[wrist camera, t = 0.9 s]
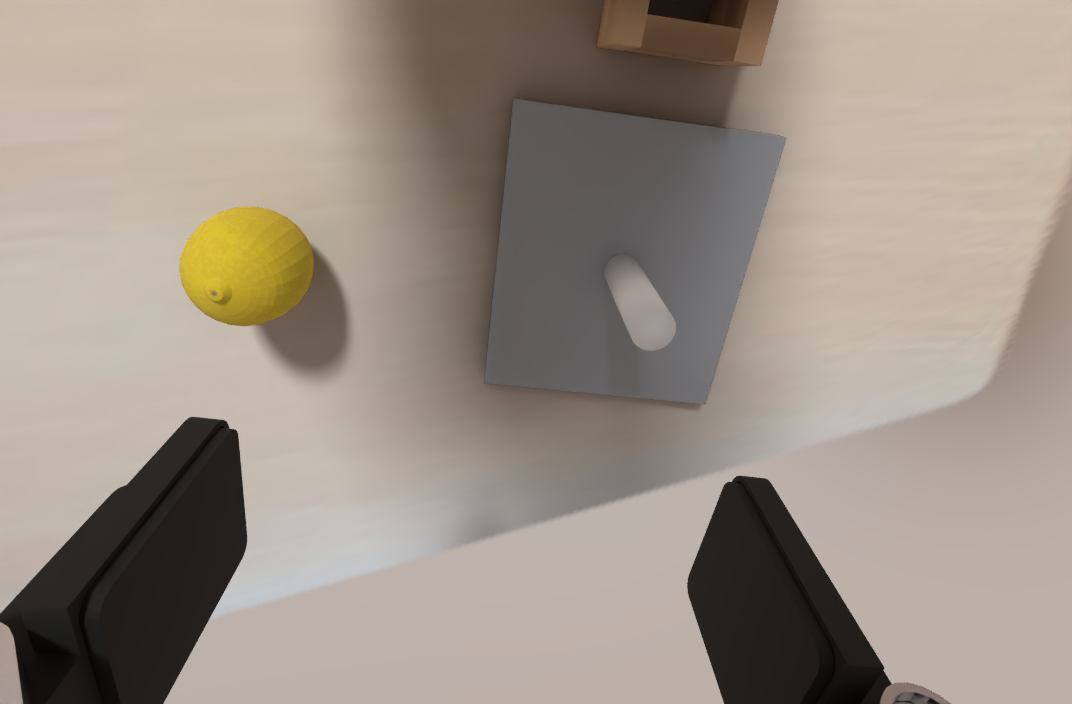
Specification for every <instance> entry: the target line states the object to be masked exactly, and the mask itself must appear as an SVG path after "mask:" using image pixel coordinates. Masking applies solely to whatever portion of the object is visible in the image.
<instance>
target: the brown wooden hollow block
mask: <svg viewBox="0 0 1072 704" xmlns="http://www.w3.org/2000/svg"><path fill="white" fill-rule="evenodd" d="M649 2H650V0H604V4H603V10H602V16H601V23H600V29H599V36H598V42H597V47H599V48H606V49H613V50H619V51H626V52H632V53H639V54H646V55H652V56H659V57H666V58H672V59H679V60H686V61H692V62H699V63H706V64H712V65H719V66H760V65H761V63H762V59H763V56H764V52H765V48H766V45H767V41H768V37H769V33H770V30H771V26H772V22H773V19H774V15H775V11H776V8H777V4H778V0H713V3H712V7H711V12H710V16H709V20H708V24H707V23H701V22H694V21H688V20H682V19H675V18H669V17H663V16H656V15H650V14H647V12H648V7H649Z"/></svg>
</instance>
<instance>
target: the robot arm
mask: <svg viewBox="0 0 1072 704" xmlns="http://www.w3.org/2000/svg"><path fill="white" fill-rule="evenodd" d="M246 545H247V530H246V519H245V507H244V496H243V485H242V473H241V462H240V451H239V439H238V433H237V431H236V430H234V429H229V426H228V424H227V422H226V421H224V420H218V419H208V418H199V417H190V418H188V419H187V420H186V421H185V422H184V423H183V424H182V425H181V426H180V427H179V428H178V429H177V431H176V432H175V433H174V434H173V435H172V436H171V437H170V438H169V439H168V440H167V442H166V443H165V444H164V445H163V446H162V447H161V448H160V449H159V450H158V451H157V453H156V454H155V455H154V456H153V457H152V458H151V459H150V460H149V461H148V462H147V463H146V465H145V466H144V467H143V468H142V469H141V470H140V471H139V472H138V473H137V474H136V476H135V477H134V478H133V479H132V480H131V481H130V482H129V483H128V484H127V485H126V486H123V487H120V488H118V489H117V490H116V491H115V492H113V493H112V494H111V495H110V496H109V497H108V498H107V499H106V500H105V502H104V503H103V504H102V505H101V506H100V507H99V508H98V509H97V510H96V511H95V512H94V513H93V514H92V516H91V517H90V518H89V519H88V520H87V521H86V522H85V523H84V524H83V525H82V526H81V527H80V528H79V530H78V531H77V532H76V533H75V534H74V535H73V536H72V537H71V538H70V539H69V540H68V541H67V542H66V544H65V545H64V546H63V547H62V548H61V549H60V550H59V551H58V552H57V553H56V554H55V555H54V556H53V558H52V559H51V560H50V561H49V562H48V563H47V564H46V565H45V566H44V567H43V568H42V569H41V570H40V572H39V573H38V574H37V575H36V576H35V577H34V578H33V579H32V580H31V581H30V582H29V583H28V584H27V586H26V587H25V588H24V589H23V590H22V591H21V592H20V593H19V594H18V595H17V596H16V597H15V598H14V600H13V601H12V602H11V603H10V604H9V605H8V606H7V607H6V608H5V609H4V610H3V611H2V612H1V614H0V704H163V703H164V701H165V699H166V698H167V696H168V694H169V692H170V690H171V688H172V686H173V685H174V683H175V681H176V679H177V677H178V675H179V674H180V672H181V670H182V668H183V666H184V664H185V663H186V661H187V659H188V657H189V655H190V653H191V651H192V650H193V648H194V646H195V644H196V642H197V641H198V638H199V637H200V635H201V633H202V631H203V630H204V628H205V626H206V624H207V622H208V620H209V619H210V617H211V615H212V613H213V611H214V609H215V607H216V606H217V604H218V602H219V600H220V598H221V596H222V595H223V593H224V591H225V589H226V587H227V585H228V584H229V582H230V580H231V578H232V576H233V574H234V573H235V571H236V569H237V567H238V565H239V563H240V562H241V560H242V558H243V555H244V553H245V549H246ZM687 584H688V586H687V587H688V594H689V598H690V601H691V604H692V607H693V610H694V613H695V616H696V619H697V622H698V626H699V629H700V631H701V635H702V638H703V641H704V644H705V647H706V650H707V653H708V656H709V659H710V662H711V665H712V668H713V671H714V674H715V677H716V680H717V683H718V686H719V689H720V692H721V695H722V698H723V701H724V704H951V703H949V702H948V701H947V700H945V699H944V698H943V697H941V696H940V695H938V694H936V693H934V692H932V691H930V690H928V689H926V688H924V687H922V686H918V685H915V684H911V683H894V684H891V682H890V681H889V679H888V677H887V676H886V674H885V672H884V671H883V670H884V666H883V665H882V663H881V661H880V660H879V658H878V657H877V655H876V653H875V652H874V650H873V649H872V647H871V645H870V644H869V642H868V641H867V639H866V637H865V635H864V634H863V632H862V631H861V629H860V627H859V626H858V624H857V622H856V621H855V619H854V617H853V616H852V614H851V613H850V611H849V609H848V608H847V606H846V605H845V603H844V601H843V600H842V598H841V596H840V595H839V593H838V591H837V590H836V588H835V587H834V585H833V583H832V582H831V580H830V578H829V577H828V575H827V574H826V572H825V570H824V569H823V567H822V566H821V564H820V562H819V561H818V559H817V557H816V556H815V554H814V552H813V551H812V549H811V547H810V546H809V544H808V543H807V541H806V539H805V538H804V536H803V535H802V533H801V531H800V530H799V528H798V526H797V525H796V523H795V522H794V520H793V518H792V517H791V515H790V513H789V512H788V510H787V508H786V507H785V505H784V504H783V502H782V500H781V499H780V497H779V495H778V494H777V492H776V491H775V489H774V487H773V486H772V484H771V483H770V482H769V480H767V479H764V478H756V477H747V476H736V477H735V478H734V480H733V481H732V482H727V483H726V484H725V485H724V487H723V490H722V492H721V495H720V497H719V500H718V502H717V505H716V507H715V510H714V513H713V515H712V518H711V521H710V523H709V526H708V528H707V531H706V533H705V536H704V538H703V541H702V543H701V546H700V549H699V551H698V553H697V556H696V559H695V561H694V564H693V566H692V569H691V571H690V574H689V577H688V583H687Z"/></svg>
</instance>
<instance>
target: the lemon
mask: <svg viewBox="0 0 1072 704" xmlns="http://www.w3.org/2000/svg"><path fill="white" fill-rule="evenodd" d="M313 273H314V257H313V253H312V249H311V246H310V244H309V242H308V240H307V238H306V236H305V235H304V233H303V232H302V231H301V230H300V228H299V227H298V226H297V225H296V224H295V223H293V222H292V221H291V220H290V219H288V218H287V217H285V216H283V215H281V214H279V213H277V212H275V211H273V210H269V209H264V208H260V207H238V208H234V209H230V210H226V211H223V212H220V213H218V214H216V215H215V216H213V217H211V218H210V219H208V220H207V221H205V222H203V223H202V224H201V225H200V226H199V227H198V228H197V230H196V231H195V232H194V233H193V234H192V235H191V237H190V238H189V239H188V241H187V243H186V245H185V247H184V250H183V252H182V255H181V259H180V276H181V281H182V285H183V287H184V289H185V291H186V293H187V295H188V297H189V298H190V300H191V301H192V302H193V303H194V305H195V306H196V307H197V308H199V309H200V310H201V311H202V312H203V313H204V314H206V315H208V316H209V317H211V318H213V319H215V320H217V321H220V322H223V323H227V324H230V325H237V326H251V325H259V324H263V323H266V322H269V321H271V320H274V319H276V318H279V317H281V316H283V315H284V314H286V313H287V312H288V311H289V310H291V309H292V308H293V307H295V306H296V305H297V304H298V303H299V302H300V301H301V299H302V298H303V296H304V295H305V293H306V292H307V290H308V289H309V286H310V283H311V280H312V277H313Z"/></svg>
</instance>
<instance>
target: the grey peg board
mask: <svg viewBox="0 0 1072 704" xmlns="http://www.w3.org/2000/svg"><path fill="white" fill-rule="evenodd" d="M785 141H786V137H782V136H778V135H772V134H765V133H758V132H751V131H744V130H737V129H730V128H722V127H715V126H708V125H701V124H694V123H687V122H680V121H673V120H665V119H658V118H651V117H644V116H637V115H630V114H623V113H616V112H609V111H601V110H594V109H587V108H580V107H573V106H566V105H559V104H552V103H544V102H537V101H530V100H523V99H516V98H513V107H512V117H511V126H510V136H509V146H508V155H507V165H506V175H505V185H504V194H503V204H502V214H501V223H500V233H499V243H498V252H497V262H496V272H495V282H494V291H493V301H492V311H491V320H490V330H489V340H488V349H487V359H486V369H485V379H484V383H485V384H496V385H506V386H517V387H527V388H538V389H549V390H559V391H570V392H580V393H591V394H601V395H612V396H622V397H633V398H643V399H654V400H664V401H675V402H686V403H696V404H706V400H707V397H708V394H709V391H710V387H711V384H712V381H713V378H714V374H715V371H716V368H717V364H718V361H719V358H720V355H721V351H722V348H723V345H724V341H725V338H726V335H727V332H728V328H729V325H730V322H731V318H732V315H733V312H734V309H735V305H736V302H737V299H738V295H739V292H740V289H741V286H742V282H743V279H744V276H745V272H746V269H747V266H748V263H749V259H750V256H751V253H752V249H753V246H754V243H755V240H756V236H757V233H758V230H759V226H760V223H761V220H762V217H763V213H764V210H765V207H766V203H767V200H768V197H769V194H770V190H771V187H772V184H773V180H774V177H775V174H776V171H777V167H778V164H779V161H780V157H781V154H782V151H783V148H784V144H785Z"/></svg>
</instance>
